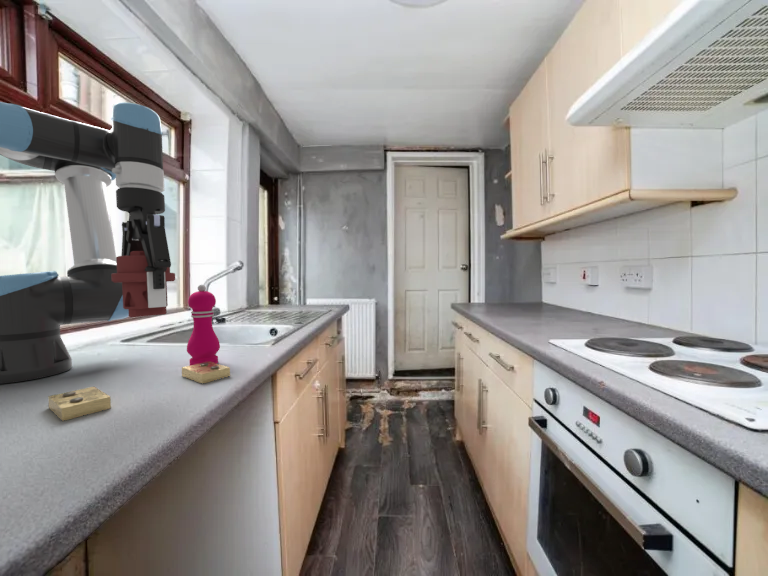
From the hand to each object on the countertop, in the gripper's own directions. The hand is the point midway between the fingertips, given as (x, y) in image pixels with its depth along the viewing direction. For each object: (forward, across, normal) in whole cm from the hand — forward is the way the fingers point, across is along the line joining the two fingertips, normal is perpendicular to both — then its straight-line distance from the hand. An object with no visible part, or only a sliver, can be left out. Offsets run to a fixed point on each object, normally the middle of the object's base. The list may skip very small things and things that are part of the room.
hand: (146, 306), depth 64 cm
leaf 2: (+16, 0, +11) cm, 20 cm away
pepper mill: (+16, -10, +15) cm, 24 cm away
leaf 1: (+16, 0, -10) cm, 19 cm away
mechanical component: (+2, 0, 0) cm, 2 cm away
